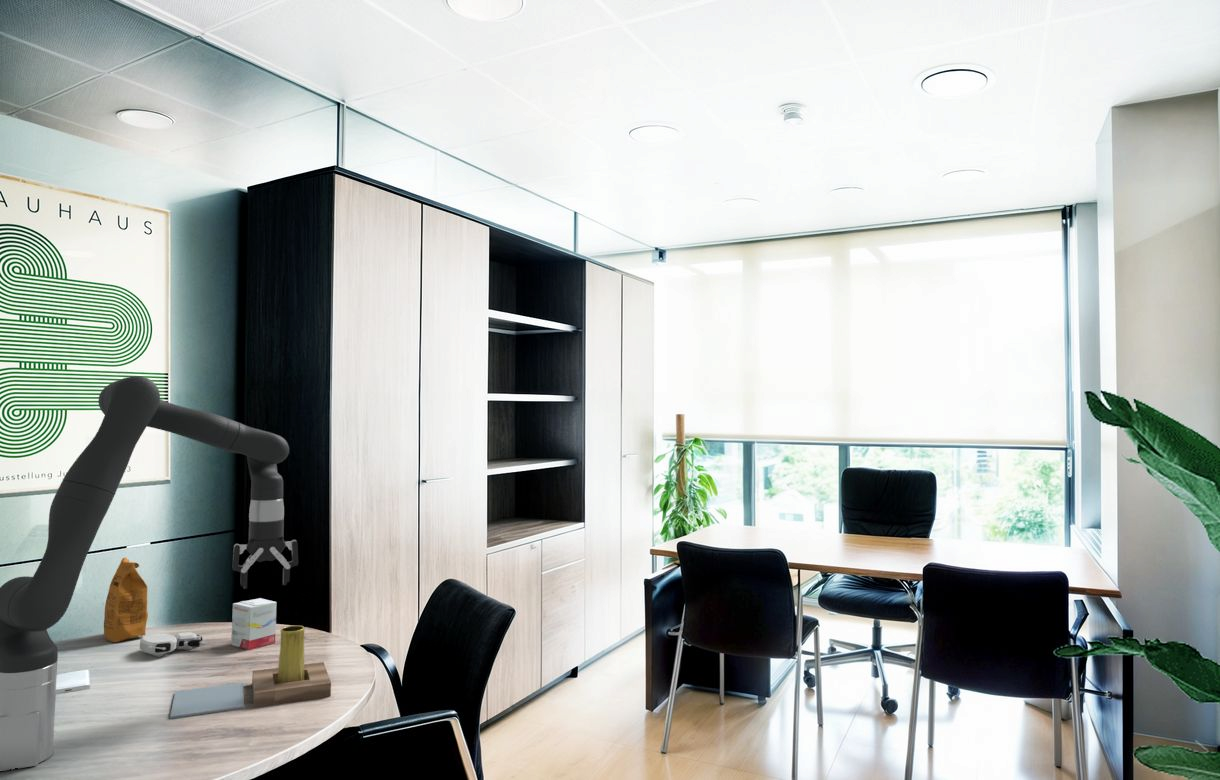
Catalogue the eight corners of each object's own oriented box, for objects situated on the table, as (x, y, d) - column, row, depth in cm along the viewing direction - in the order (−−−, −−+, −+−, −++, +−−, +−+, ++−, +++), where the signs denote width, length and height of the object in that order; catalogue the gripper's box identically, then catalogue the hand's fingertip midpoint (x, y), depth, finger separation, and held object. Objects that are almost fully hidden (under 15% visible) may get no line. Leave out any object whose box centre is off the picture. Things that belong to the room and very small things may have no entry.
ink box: (276, 643, 211) (277, 600, 211) (248, 650, 203) (249, 606, 204) (258, 637, 215) (259, 596, 216) (229, 645, 208) (231, 602, 208)
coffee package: (139, 629, 222) (142, 554, 223) (149, 638, 213) (152, 560, 214) (99, 635, 215) (102, 558, 216) (108, 645, 206) (111, 565, 207)
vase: (296, 683, 179) (298, 623, 180) (309, 689, 175) (311, 628, 176) (271, 689, 175) (273, 628, 175) (284, 696, 171) (286, 633, 171)
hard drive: (47, 675, 179) (46, 690, 169) (89, 669, 184) (90, 683, 174) (47, 682, 179) (45, 698, 169) (88, 676, 184) (89, 691, 174)
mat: (243, 708, 163) (243, 706, 163) (169, 718, 157) (170, 716, 157) (242, 684, 178) (242, 682, 178) (175, 693, 171) (175, 691, 171)
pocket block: (330, 695, 172) (331, 682, 172) (253, 706, 164) (254, 693, 164) (323, 674, 186) (323, 662, 186) (252, 683, 179) (252, 670, 179)
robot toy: (194, 644, 212) (133, 650, 201) (196, 627, 212) (136, 633, 202) (207, 654, 203) (144, 661, 192) (209, 637, 203) (146, 643, 193)
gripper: (233, 522, 171) (232, 593, 170) (300, 518, 178) (299, 586, 177) (232, 517, 177) (231, 586, 177) (297, 514, 184) (295, 580, 184)
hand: (265, 586), depth 177 cm, fingers open, 8 cm apart
